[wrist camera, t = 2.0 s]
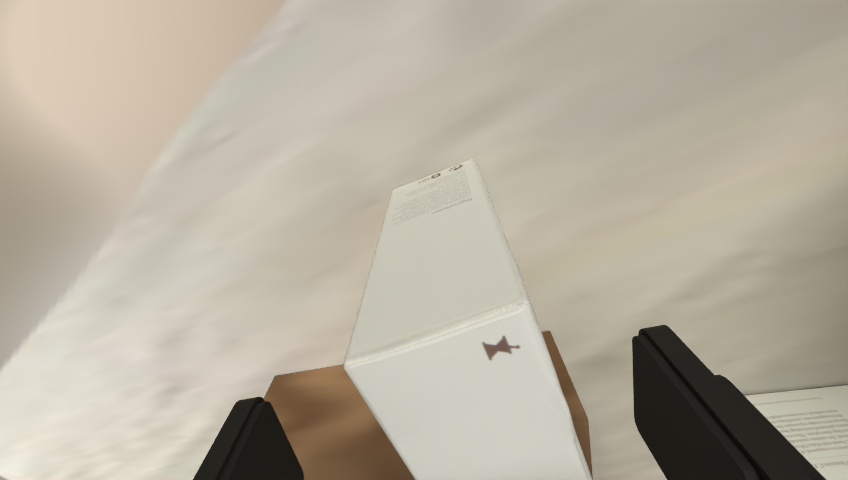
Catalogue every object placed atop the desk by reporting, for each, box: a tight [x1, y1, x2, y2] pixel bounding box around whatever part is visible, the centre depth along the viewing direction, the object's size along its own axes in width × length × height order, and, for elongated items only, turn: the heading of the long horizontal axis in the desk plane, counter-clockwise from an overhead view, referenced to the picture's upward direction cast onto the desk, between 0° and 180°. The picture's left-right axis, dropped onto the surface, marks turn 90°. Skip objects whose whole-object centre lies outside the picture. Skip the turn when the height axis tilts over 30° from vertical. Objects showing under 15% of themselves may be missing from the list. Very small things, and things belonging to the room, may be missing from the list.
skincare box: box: [344, 159, 592, 480], centre depth 15 cm, size 6×4×12 cm
